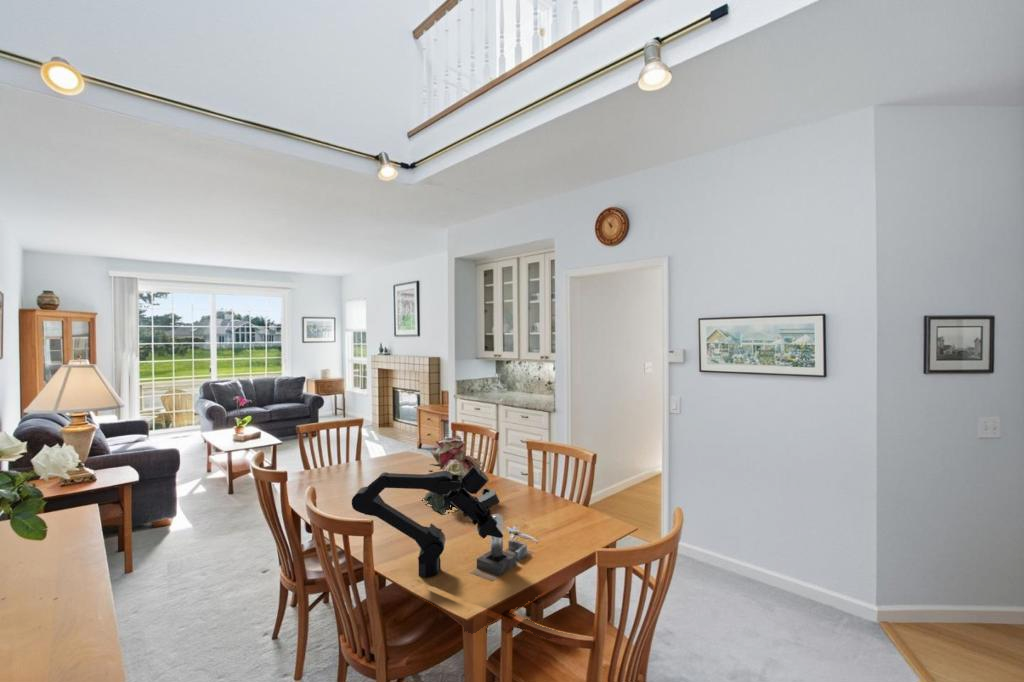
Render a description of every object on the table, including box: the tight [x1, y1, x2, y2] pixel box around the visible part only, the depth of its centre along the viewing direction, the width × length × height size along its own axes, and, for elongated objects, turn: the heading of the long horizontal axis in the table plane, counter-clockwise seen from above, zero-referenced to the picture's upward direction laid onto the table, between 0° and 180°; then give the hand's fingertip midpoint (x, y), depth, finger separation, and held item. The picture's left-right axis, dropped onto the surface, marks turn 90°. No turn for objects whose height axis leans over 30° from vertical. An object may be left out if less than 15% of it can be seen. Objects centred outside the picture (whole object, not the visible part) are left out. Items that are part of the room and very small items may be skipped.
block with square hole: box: [469, 538, 535, 582], centre depth 153 cm, size 23×9×4 cm, turn 145°
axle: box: [489, 513, 504, 557], centre depth 150 cm, size 4×4×12 cm
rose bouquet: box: [422, 434, 483, 515], centre depth 214 cm, size 26×29×30 cm
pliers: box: [505, 525, 538, 544], centre depth 176 cm, size 10×2×15 cm
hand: (500, 534), depth 151 cm, fingers closed on axle, 4 cm apart
